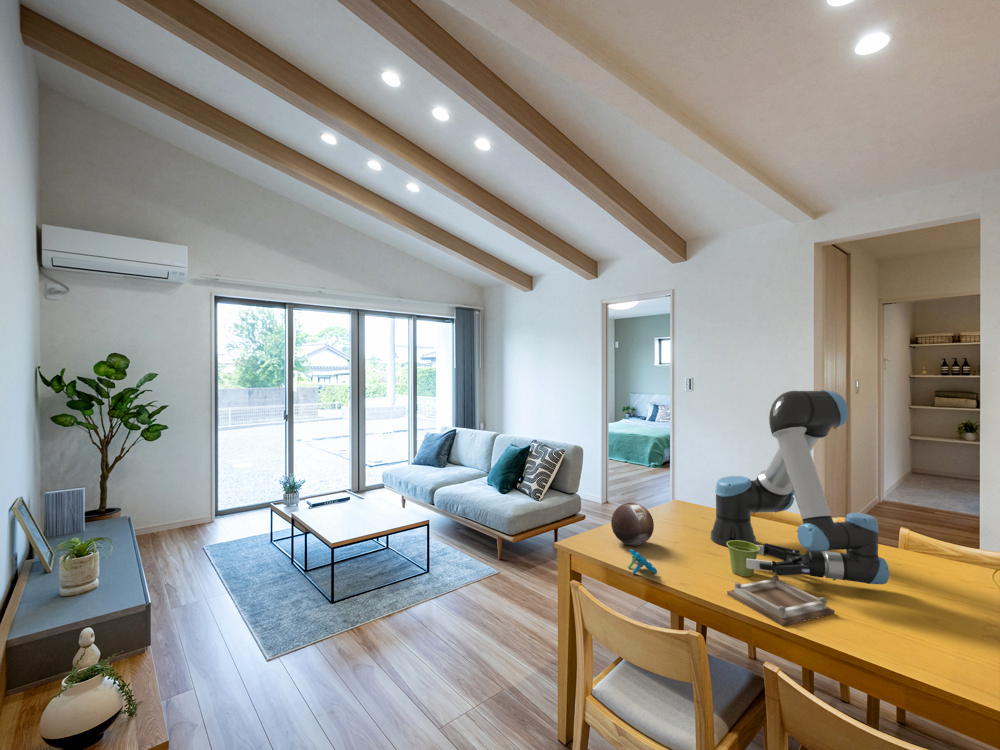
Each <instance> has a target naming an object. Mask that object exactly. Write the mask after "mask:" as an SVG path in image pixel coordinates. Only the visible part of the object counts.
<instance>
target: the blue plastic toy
mask: <svg viewBox="0 0 1000 750" xmlns="http://www.w3.org/2000/svg"><path fill="white" fill-rule="evenodd" d="M629 553H630V555H631V556H630V557H631V558H632V559H631V563H630V564H629V565H628V566H627V568H628V569H629V568H630V569H631V567H633V565H634V564H635V565H636V566H635V568H634V570H633V571H632V572H631V573H633V575H636V574H637V572H638V571H640V569H641V568H643V567H644V566H645V568H646V569H647V570H649V571H651V572H652V573H653V574H657V573H658V569H657V568H656V567H655V566H653V564H652V563H651V562H649V561H648V560H647V559H646V558H645V557H644V556H642V555H641V554H640V553H639V552H638V551H636V550H634V549H632V548H630V549H629Z"/></svg>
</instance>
